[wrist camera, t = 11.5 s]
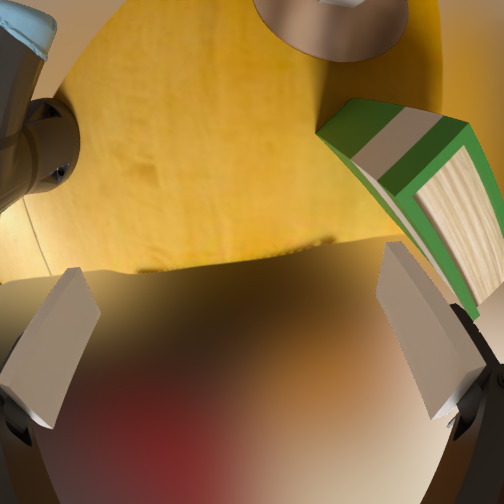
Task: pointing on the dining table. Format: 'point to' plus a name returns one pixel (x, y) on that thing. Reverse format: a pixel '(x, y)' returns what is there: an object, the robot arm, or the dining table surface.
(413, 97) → the dining table surface
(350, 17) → the lid
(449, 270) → the hardback book
